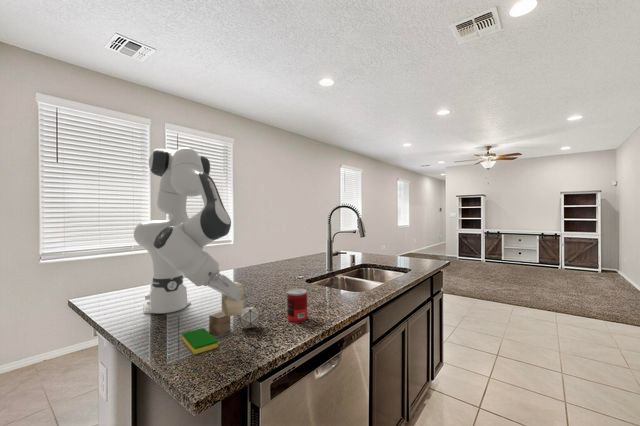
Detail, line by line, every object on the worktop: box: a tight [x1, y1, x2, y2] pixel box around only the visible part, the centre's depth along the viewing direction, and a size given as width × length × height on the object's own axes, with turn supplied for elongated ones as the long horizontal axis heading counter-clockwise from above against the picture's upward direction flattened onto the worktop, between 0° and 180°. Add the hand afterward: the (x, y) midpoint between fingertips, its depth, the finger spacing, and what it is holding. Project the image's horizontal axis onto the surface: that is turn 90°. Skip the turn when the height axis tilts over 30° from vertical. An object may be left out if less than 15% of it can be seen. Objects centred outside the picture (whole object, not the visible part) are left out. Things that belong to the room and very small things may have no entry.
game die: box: [237, 304, 263, 331], centre depth 105 cm, size 9×8×10 cm
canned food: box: [286, 288, 308, 324], centre depth 114 cm, size 8×8×11 cm
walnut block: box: [208, 310, 231, 336], centre depth 103 cm, size 5×5×6 cm
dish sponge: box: [181, 327, 219, 355], centre depth 94 cm, size 7×14×2 cm, turn 40°
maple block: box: [221, 281, 244, 317], centre depth 93 cm, size 5×5×9 cm
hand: (234, 296), depth 93 cm, fingers closed on maple block, 5 cm apart
